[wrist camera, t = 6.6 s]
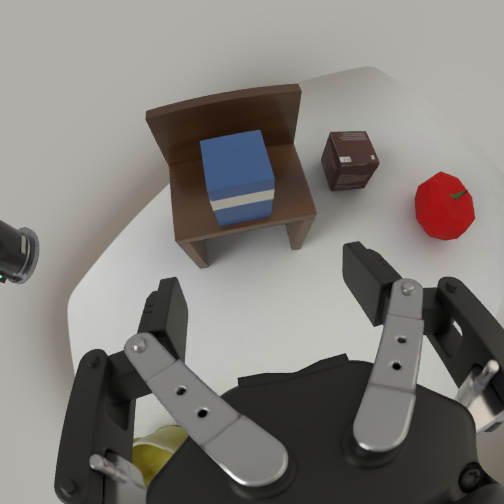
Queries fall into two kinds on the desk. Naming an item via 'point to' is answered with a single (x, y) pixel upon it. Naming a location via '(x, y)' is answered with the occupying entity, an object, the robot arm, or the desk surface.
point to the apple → (444, 207)
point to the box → (349, 160)
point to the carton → (238, 177)
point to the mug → (156, 450)
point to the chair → (222, 124)
